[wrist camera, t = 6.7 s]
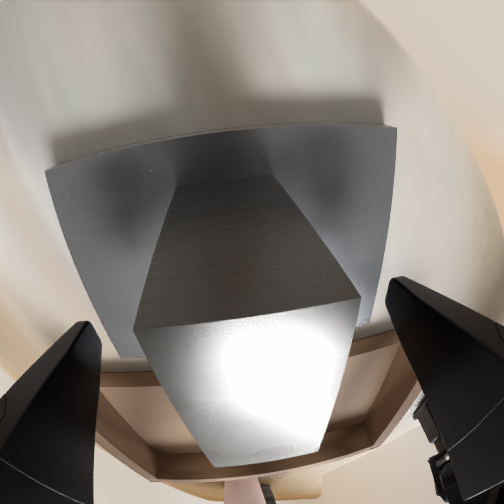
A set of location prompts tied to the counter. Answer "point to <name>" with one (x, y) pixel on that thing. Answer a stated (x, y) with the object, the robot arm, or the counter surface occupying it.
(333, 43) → the counter surface
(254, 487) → the smoothie
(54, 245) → the counter surface
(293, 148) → the cover plate
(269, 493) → the beverage cup
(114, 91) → the counter surface
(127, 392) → the walnut box
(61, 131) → the counter surface
